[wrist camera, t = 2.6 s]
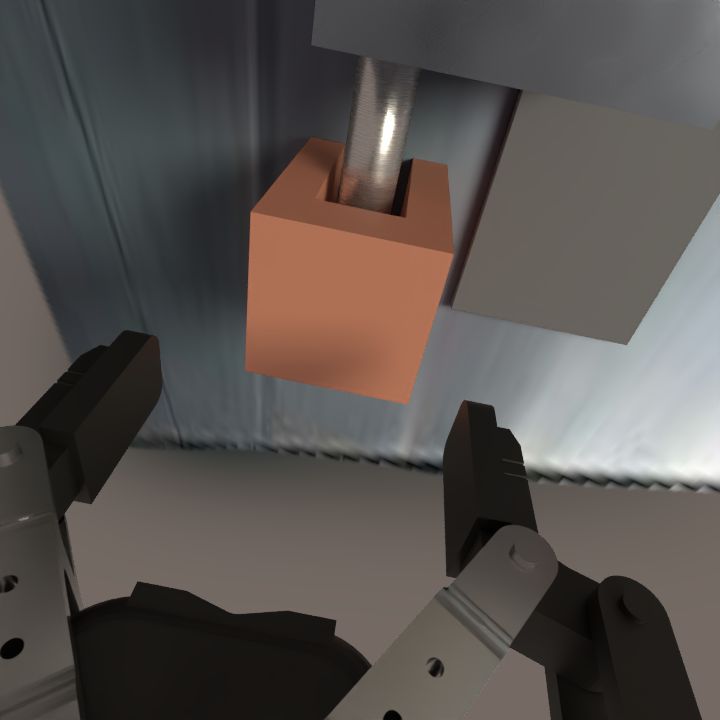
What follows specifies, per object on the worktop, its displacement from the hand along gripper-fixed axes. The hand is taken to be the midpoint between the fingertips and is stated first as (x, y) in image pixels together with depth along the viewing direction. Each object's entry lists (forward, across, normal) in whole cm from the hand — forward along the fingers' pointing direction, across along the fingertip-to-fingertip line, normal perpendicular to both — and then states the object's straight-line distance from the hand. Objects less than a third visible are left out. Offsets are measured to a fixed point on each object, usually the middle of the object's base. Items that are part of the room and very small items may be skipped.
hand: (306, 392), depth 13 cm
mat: (+13, -10, -2) cm, 16 cm away
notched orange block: (+13, 0, 0) cm, 13 cm away
